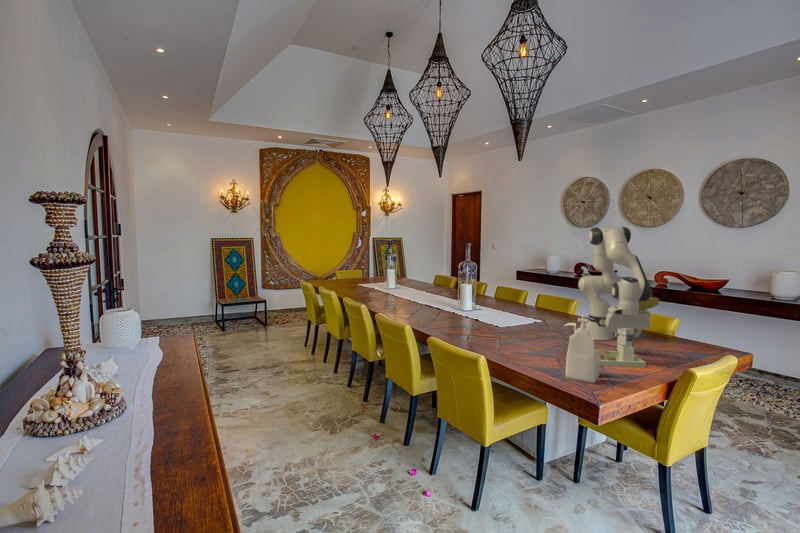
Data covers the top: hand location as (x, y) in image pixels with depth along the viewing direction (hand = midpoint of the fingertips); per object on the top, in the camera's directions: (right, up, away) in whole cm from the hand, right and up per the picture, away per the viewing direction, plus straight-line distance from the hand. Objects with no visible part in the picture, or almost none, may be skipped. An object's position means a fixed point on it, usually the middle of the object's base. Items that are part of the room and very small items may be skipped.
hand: (626, 336), depth 200 cm
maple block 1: (-8, -12, +7) cm, 16 cm away
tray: (-5, -14, +2) cm, 15 cm away
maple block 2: (-12, -13, +3) cm, 18 cm away
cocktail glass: (+39, -9, +53) cm, 66 cm away
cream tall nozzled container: (-31, -16, -15) cm, 38 cm away
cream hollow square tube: (0, -13, +1) cm, 13 cm away
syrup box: (+9, -12, +18) cm, 24 cm away
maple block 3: (-9, -13, -2) cm, 16 cm away
